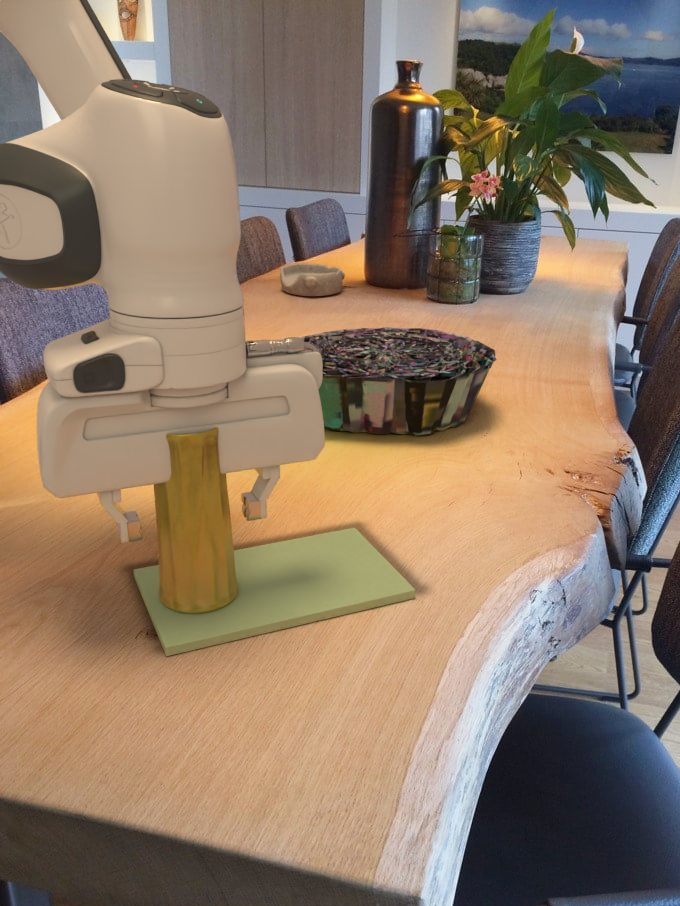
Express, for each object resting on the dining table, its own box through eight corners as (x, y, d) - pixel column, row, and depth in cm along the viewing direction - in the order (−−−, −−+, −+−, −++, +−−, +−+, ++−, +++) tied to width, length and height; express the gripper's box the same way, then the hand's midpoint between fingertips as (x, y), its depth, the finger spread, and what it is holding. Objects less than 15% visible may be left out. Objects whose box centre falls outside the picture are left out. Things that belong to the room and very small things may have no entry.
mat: (166, 656, 59) (165, 647, 58) (134, 577, 68) (133, 569, 68) (415, 598, 67) (416, 589, 66) (354, 534, 76) (355, 527, 76)
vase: (213, 622, 61) (201, 442, 55) (142, 605, 63) (123, 429, 57) (252, 583, 67) (244, 414, 60) (186, 568, 68) (172, 403, 62)
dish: (318, 301, 171) (318, 276, 168) (266, 292, 177) (265, 268, 175) (357, 290, 182) (358, 267, 180) (307, 282, 188) (307, 260, 186)
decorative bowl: (512, 457, 99) (527, 377, 95) (282, 449, 94) (287, 364, 90) (458, 392, 122) (468, 325, 118) (271, 383, 117) (274, 313, 113)
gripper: (306, 325, 63) (308, 490, 69) (18, 348, 55) (48, 533, 61) (338, 345, 58) (337, 521, 64) (26, 374, 50) (58, 573, 56)
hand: (194, 527), depth 62 cm, fingers open, 8 cm apart
